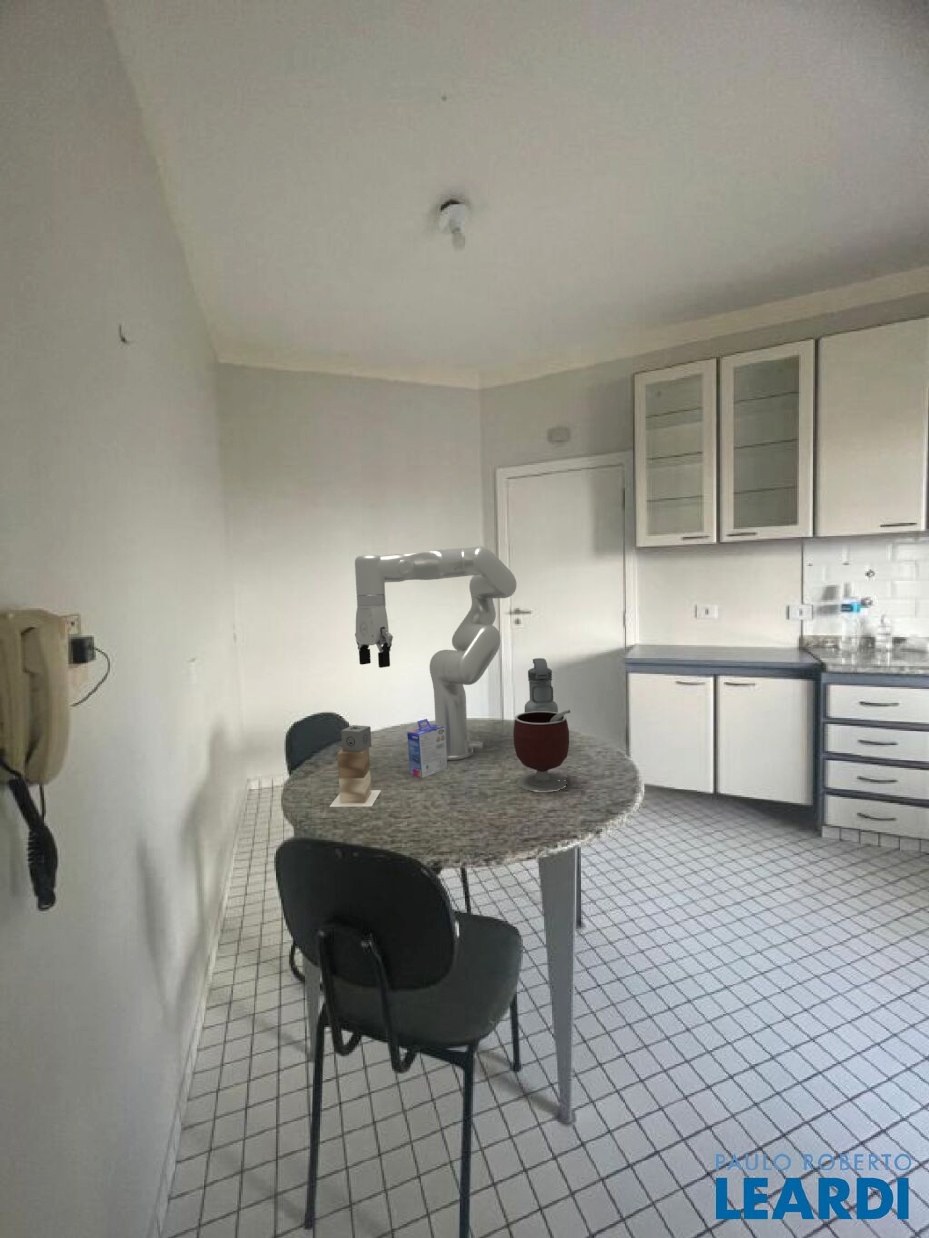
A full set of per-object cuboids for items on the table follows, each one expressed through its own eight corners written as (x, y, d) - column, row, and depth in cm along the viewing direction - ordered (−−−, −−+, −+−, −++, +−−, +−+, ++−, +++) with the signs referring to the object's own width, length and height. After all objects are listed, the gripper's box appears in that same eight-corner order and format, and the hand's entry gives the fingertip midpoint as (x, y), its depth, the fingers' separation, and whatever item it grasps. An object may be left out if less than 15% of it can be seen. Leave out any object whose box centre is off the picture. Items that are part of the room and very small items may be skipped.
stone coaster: (381, 792, 138) (381, 790, 138) (371, 808, 128) (371, 806, 128) (342, 792, 139) (342, 790, 139) (329, 809, 129) (329, 806, 129)
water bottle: (561, 758, 159) (559, 661, 157) (527, 759, 159) (524, 663, 157) (556, 747, 169) (553, 657, 167) (524, 749, 169) (521, 658, 167)
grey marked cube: (353, 745, 136) (352, 725, 136) (371, 746, 134) (370, 726, 134) (342, 751, 132) (341, 730, 131) (360, 752, 130) (359, 731, 130)
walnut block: (369, 769, 136) (368, 745, 135) (363, 778, 130) (362, 752, 129) (345, 769, 136) (344, 745, 136) (338, 778, 130) (337, 753, 130)
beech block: (371, 793, 136) (370, 769, 136) (365, 802, 130) (363, 777, 130) (347, 793, 137) (346, 769, 136) (340, 803, 131) (338, 778, 130)
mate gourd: (503, 785, 139) (501, 707, 138) (536, 770, 149) (533, 697, 148) (555, 800, 129) (553, 715, 127) (586, 783, 139) (584, 704, 137)
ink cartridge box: (434, 765, 157) (432, 715, 156) (448, 769, 153) (446, 718, 152) (408, 775, 150) (405, 723, 149) (422, 780, 146) (419, 726, 145)
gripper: (342, 602, 151) (346, 664, 152) (376, 602, 138) (379, 670, 139) (366, 601, 156) (369, 661, 157) (401, 601, 143) (404, 666, 144)
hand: (374, 665), depth 148 cm, fingers open, 9 cm apart
